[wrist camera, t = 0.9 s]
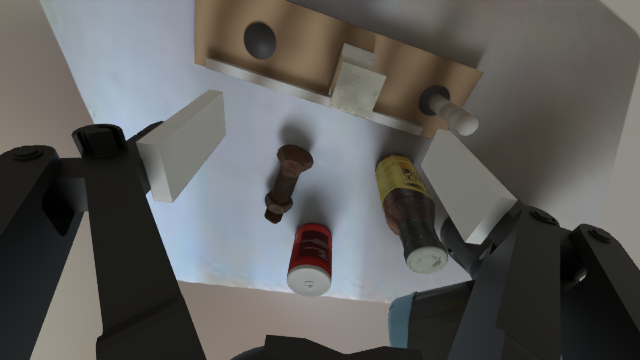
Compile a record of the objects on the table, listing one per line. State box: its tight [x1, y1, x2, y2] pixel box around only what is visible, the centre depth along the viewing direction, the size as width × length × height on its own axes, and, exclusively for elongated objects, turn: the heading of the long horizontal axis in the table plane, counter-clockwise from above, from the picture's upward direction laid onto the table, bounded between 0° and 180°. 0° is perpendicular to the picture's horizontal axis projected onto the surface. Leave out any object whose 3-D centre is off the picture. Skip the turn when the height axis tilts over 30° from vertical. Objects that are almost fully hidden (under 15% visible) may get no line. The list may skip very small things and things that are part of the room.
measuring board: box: [195, 0, 483, 139], centre depth 28 cm, size 36×10×12 cm, turn 73°
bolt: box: [265, 145, 314, 224], centre depth 42 cm, size 6×5×15 cm
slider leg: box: [328, 42, 387, 119], centre depth 27 cm, size 4×6×11 cm, turn 163°
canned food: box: [287, 223, 332, 297], centre depth 46 cm, size 8×8×11 cm
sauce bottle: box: [375, 153, 448, 274], centre depth 33 cm, size 6×6×20 cm
